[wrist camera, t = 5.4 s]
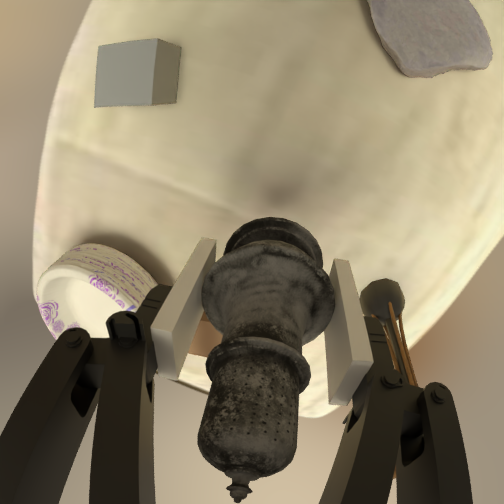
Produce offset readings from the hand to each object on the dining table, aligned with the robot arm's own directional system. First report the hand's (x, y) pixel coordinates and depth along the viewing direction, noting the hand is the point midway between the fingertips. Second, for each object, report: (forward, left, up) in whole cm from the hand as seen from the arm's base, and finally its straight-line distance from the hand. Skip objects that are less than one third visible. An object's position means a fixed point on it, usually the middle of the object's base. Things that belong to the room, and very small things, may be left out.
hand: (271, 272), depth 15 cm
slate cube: (+12, -10, -12) cm, 20 cm away
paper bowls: (+16, +13, -12) cm, 24 cm away
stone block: (-9, -19, -12) cm, 24 cm away
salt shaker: (0, 0, -1) cm, 1 cm away
